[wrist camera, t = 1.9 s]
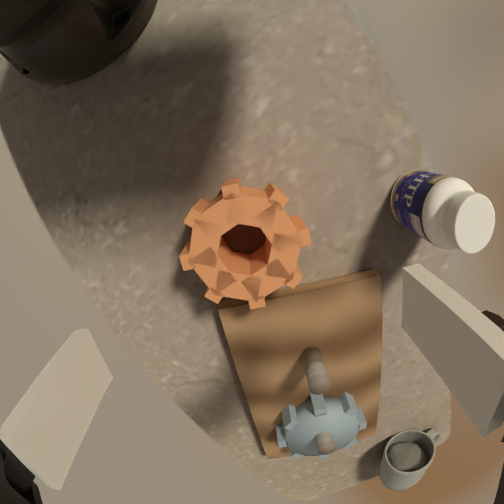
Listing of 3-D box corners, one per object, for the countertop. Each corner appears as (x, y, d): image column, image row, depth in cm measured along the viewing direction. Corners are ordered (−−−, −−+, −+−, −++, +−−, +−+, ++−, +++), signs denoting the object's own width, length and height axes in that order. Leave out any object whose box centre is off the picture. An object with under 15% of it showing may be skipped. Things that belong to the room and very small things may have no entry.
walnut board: (219, 301, 27) (212, 340, 21) (374, 268, 26) (403, 298, 20) (267, 450, 34) (269, 486, 28) (372, 426, 33) (385, 460, 27)
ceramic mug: (372, 465, 37) (385, 501, 30) (377, 439, 34) (393, 480, 27) (430, 443, 37) (447, 476, 29) (441, 414, 34) (462, 449, 27)
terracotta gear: (178, 191, 24) (163, 201, 19) (288, 167, 23) (298, 171, 19) (205, 292, 26) (198, 318, 22) (307, 271, 26) (318, 295, 22)
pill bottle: (416, 157, 23) (482, 165, 14) (445, 201, 24) (510, 225, 16) (377, 197, 24) (434, 223, 16) (409, 240, 25) (466, 278, 17)
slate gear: (269, 401, 29) (270, 419, 26) (361, 381, 28) (368, 397, 26) (283, 449, 32) (284, 465, 29) (359, 432, 31) (364, 447, 29)
